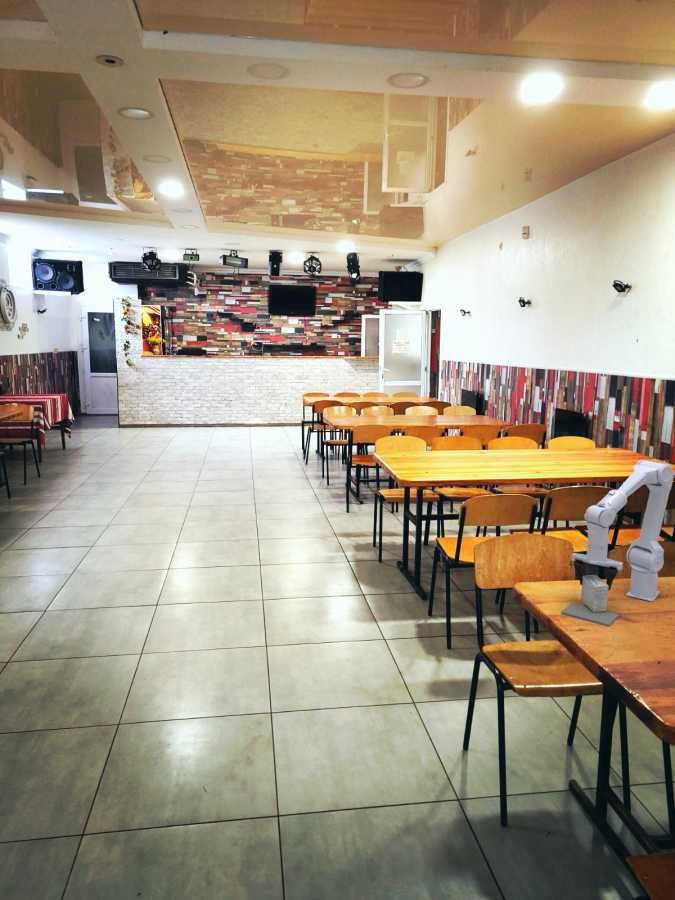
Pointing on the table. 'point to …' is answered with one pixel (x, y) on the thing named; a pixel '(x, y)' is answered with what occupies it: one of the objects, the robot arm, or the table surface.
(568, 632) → the table surface
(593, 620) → the mat
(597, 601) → the medicine box
